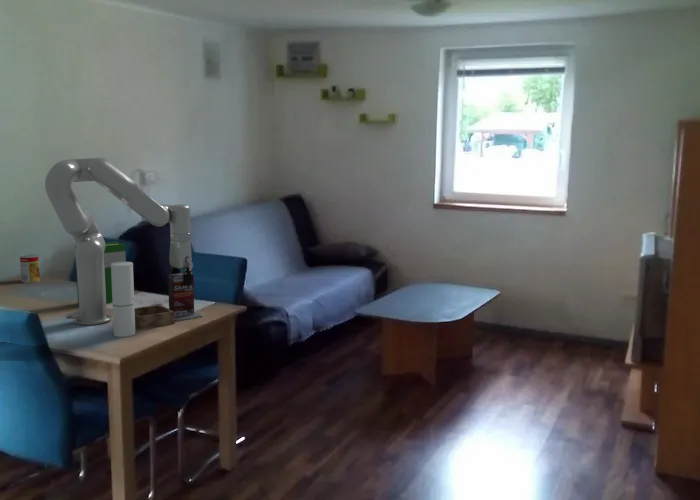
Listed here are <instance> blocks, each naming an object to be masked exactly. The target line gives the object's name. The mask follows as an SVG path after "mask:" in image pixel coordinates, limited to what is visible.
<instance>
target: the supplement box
mask: <svg viewBox="0 0 700 500" xmlns="http://www.w3.org/2000/svg"><path fill="white" fill-rule="evenodd" d="M183 274H184V272H182V273H181V272H180V274H172V273H170V274H168V309H170V310H172V311H174V316H175V317H179V316H186V315H194V312H195V287H194V286H195V285H194V284H195V281H194V278H195V277H194V275H195V274H193V273H192V283H191V284H187V285H184V284H183Z"/></svg>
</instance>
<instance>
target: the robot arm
mask: <svg viewBox="0 0 700 500" xmlns="http://www.w3.org/2000/svg"><path fill="white" fill-rule="evenodd" d="M82 182H95V183H97V184H98V185H100V187H102V188H103V189H105V190H106V191H107V192H109V193H111V195H113V196H114V197H115V198H116V199H118V200H119V201H121V202H122V203H123V204H125V205H126V206H127V207H129V208H130V209H131V210H132V211H134V212H135V213H136V214H137V215H139V216H140V217H141V218H142V219H144V220H145V221H147V222H148V223H150V224H151V225H152V226H155V227H163V226H165V225H166V224H167V223H169V235H170V242H169V243H170V244H169V245H170V246H169V265H170V266H171V267H170V269H171V274H180V273H181V269H182V271H183V272H182V273H184V274H183V284H184V285H187V284H191V283H192V274H193V270H194V269H193V267H194V263H193V262H192V261H193V260H192V247H191V241H192V230H191V228H192V227H191V208H190V206H189V205H188V204H163V203H158V202H157V201H156V200H155V199H153V198H152V197H150V196H149V194H147V193H146V191H144V190H142V188H141V187H140V186H139V184H138V183H137V182H136V181H134V179H132V178H130V177H129V176H127V174H125V173H124V172H122V171H121V170H120V169H119V168H117V167H116V166H115V165H114V164H113V162H111V161H110V160H109V159H108V158H105V157H93V158H91V157H90V158H74V159H73V158H71V159H63V160H60V161H58V162H56V163H55V164H54V165H52V167H51V168H50V169H49V171H48V172H47V174H46V176H45V183H44V186H45V187H44V188H45V192H46V195H47V198H48V199H49V202H50V203H51V205H52V207H53V209H54V212H55V213H56V215H57V217H58V219H59V221H60V223H61V225H62V227H63V229H64V231H65V232H66V233H67V234H68V235H70V236H72V238H73V240H74V241H75V244H76V245H77V246H76V245H75V246H76V251H75V252H74V254H75V266H76V265H77V271H76V280H77V279H78V291H77V297H78V296H79V304H78V308H77V309H76V311H74V312H69V313H68V312H67V313H65V319H67V320H68V319H71V320H74V321H75V323H76V324H78V325H80V326H81V325H84V326H94V325H101V324H107V323H109V322H110V321H111V320H112V316H111V315H110V314H108V313H107V311H108V310H107V304H106V287H105V267H104V251H105V247H106V245H105V243H106V241H105V238H104V236H103V235H102V232H101V231H100V229H99V228H98V226H97V223H96V222H95V220H94V218H93V216H92V214H91V213H90V212H89V211H88V210H87V209H85V208H83V207H82V206H81V204H80V202H79V201H78V198H77V196H76V194H75V192H74V191H73V189H72V184H73V183H82Z"/></svg>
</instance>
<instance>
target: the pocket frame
mask: <svg viewBox="0 0 700 500" xmlns="http://www.w3.org/2000/svg"><path fill="white" fill-rule="evenodd" d="M134 309H135V329H138V330H144V329H151V328H156V327H162V326H167V325H174V324H176V323H175V316H174V311H172V310H170V309H169V307H168V308H167V307H166V306H163V305H161V304H155V305H154V304H152V305H147V306H140V307H134Z"/></svg>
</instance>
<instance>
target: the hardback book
mask: <svg viewBox="0 0 700 500" xmlns="http://www.w3.org/2000/svg"><path fill="white" fill-rule="evenodd" d="M105 245H106V247H105V251H104V267H105V287H106V305H107V304H113V302H112V278H111V263H114V262H127V261H126V260H127V259H126V244H125V243H120V242H119V241H112V242H111V241H110V242H109V241H108V242H105ZM76 246H77V244H76V245H74V248H75V249H74V250H75V251H76ZM75 268H76V272H77V265H76V264H75ZM76 287H77V288H76V289H77V292H78V279H77V278H76ZM77 305H79V296H78V295H77Z"/></svg>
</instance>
